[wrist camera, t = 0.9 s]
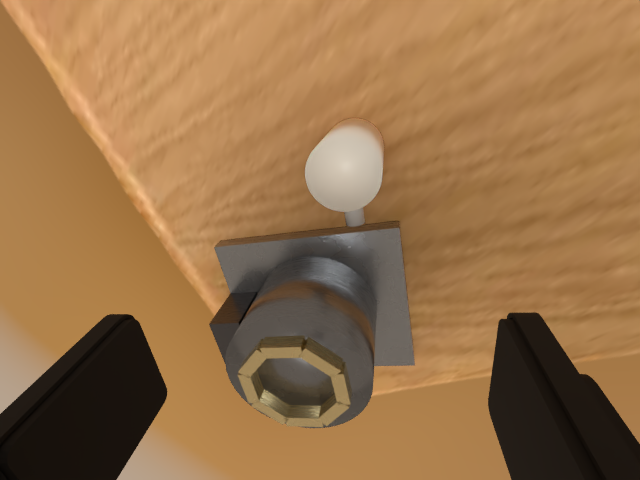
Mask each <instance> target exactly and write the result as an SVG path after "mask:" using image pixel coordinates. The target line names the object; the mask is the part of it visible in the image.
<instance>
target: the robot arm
mask: <svg viewBox="0 0 640 480" xmlns="http://www.w3.org/2000/svg"><path fill="white" fill-rule="evenodd" d="M166 397H167V388H166V385H165V383H164V381H163V378H162V376H161V373H160V372H159V369H158V366H157V364H156V361H155V359H154V357H153V354H152V352H151V349H150V347H149V345H148V342H147V340H146V338H145V336H144V333H143V330H142V328H141V326H140V323H139V322H138V321H137V320H135V319H134V317H133V316H132V315H128V314H117V315H116V314H111V315H107V316H106V317H104V318H103V319H102V320H101V321H100V322H99V323H98V324H96V325H95V326H94V327H93V328H92V329H91V330H90V331H89V332H88V333H87V334H86V335H85V336H84V337H82V338H81V339H80V340H79V341H78V342H77V343H76V344H75V345H74V346H73V347H72V348H71V349H70V350H69V351H68V352H66V353H65V355H63V356H62V357H61V358H60V359H59V360H58V361H57V362H56V363H55V364H54V365H52V366H51V367H50V368H49V369H48V370H47V371H46V372H45V373H44V374H43V375H42V376H41V377H40V378H39V379H38V380H36V381H35V382H34V383H33V384H32V385H31V386H30V387H29V388H28V389H27V390H26V391H25V392H23V393H22V394H21V395H20V396H19V397H18V398H17V399H16V400H15V401H14V402H13V403H12V404H11V405H10V406H8V407H7V409H5V410H4V411H3V412H2V413H1V414H0V480H116V479H117V478H118V476H119V475H120V473H121V471H122V470H123V468H124V467H125V465H126V463H127V462H128V460H129V459H130V457H131V455H132V454H133V452H134V450H135V449H136V447H137V446H138V444H139V442H140V441H141V439H142V438H143V436H144V434H145V433H146V431H147V430H148V428H149V426H150V425H151V423H152V422H153V420H154V418H155V417H156V415H157V414H158V412H159V410H160V409H161V407H162V405H163V404H164V402H165V400H166ZM488 406H489V412H490V416H491V419H492V422H493V425H494V428H495V431H496V434H497V437H498V440H499V443H500V446H501V449H502V452H503V455H504V458H505V461H506V464H507V467H508V470H509V473H510V476H511V479H512V480H640V444H639V443H638V441H637V440H636V438H635V437H634V436H633V434H632V433H631V431H630V430H629V428H628V427H627V426H626V424H625V423H624V421H623V420H622V418H621V417H620V416H619V414H618V413H617V411H616V410H615V408H614V407H613V406H612V404H611V403H610V401H609V400H608V398H607V397H606V396H605V394H604V393H603V391H602V390H601V389H600V387H599V386H598V384H597V383H596V382H595V381H594V380H593V379H592V378H591V377H590V376H588V375H585V374H579V373H578V371H577V370H576V368H575V367H574V365H573V364H572V362H571V361H570V359H569V358H568V356H567V355H566V353H565V352H564V350H563V349H562V347H561V346H560V344H559V343H558V341H557V340H556V338H555V337H554V335H553V334H552V332H551V331H550V329H549V328H548V326H547V325H546V323H545V322H544V320H543V319H542V317H541V316H540V315H539V314H538V313H509V314H508V316H507V319H501V320H500V321H499V325H498V332H497V339H496V347H495V354H494V362H493V369H492V376H491V384H490V392H489V398H488Z"/></svg>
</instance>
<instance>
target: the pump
mask: <svg viewBox="0 0 640 480" xmlns="http://www.w3.org/2000/svg"><path fill="white" fill-rule="evenodd" d="M383 159H384V141H383V138H382V135H381V133H380V132H379V130H378V129H377V128H376V127H375V126H374V125H373V124H372V123H370V122H369V121H367V120H364V119H360V118H349V119H345V120H343V121H341V122H339V123H338V124H336V125H335V126H334V127H333V128H332V129H331V130H330V131H329V132H328V134H327V135H326V136H325V137H324V138H323V139H322V140H321V141H320V143H319V144H318V145H317V146H316V147H315V148H314V150H313V151H312V152H311V154H310V155H309V157H308V160H307V163H306V167H305V179H306V183H307V186H308V189H309V191H310V193H311V194H312V196H313V197H314V198H315V199H316V200H317V201H318V202H319V203H320V204H321V205H323V206H325V207H326V208H329V209H331V210H334V211H339V212H344V214H345V219H346V225H347V226H350V227H355V226H360V225H362V224H364V223H365V218H364V211H363V207H364V206H366V205H367V204H368V203H370V202H371V201H372V200H373V199H374V197H375V196H376V195H377V193H378V191H379V189H380V186H381V183H382V174H383Z"/></svg>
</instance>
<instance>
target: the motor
mask: <svg viewBox="0 0 640 480" xmlns="http://www.w3.org/2000/svg"><path fill="white" fill-rule="evenodd" d="M214 248H215V251H216V254H217V257H218V259H219V262H220V265H221V268H222V271H223V273H224V276H225V279H226V282H227V284H228V287H229V290H230V293H231V294H230V295H229V297H228V298H227V299H226V301H225V302H224V304H223V305H222V307H221V308H220V309H219V311H218V312H217V314H216V315H215V317H214V318H213V320H212V321H211V323H210V324H209V325H210V327H211V330H212V332H213V335H214V337H215V340H216V342H217V345H218V347H219V349H220V352H221V354H222V357H223V359H224V362H225V364H226V370H227V373H228V376H229V379H230V381H231V383H232V385H233V386H234V388H235V389H236V391H237V392H238V393H239V394H240V396H241V397H242V398H243V399H244V400H245V401H246V402H247V403H248V404H250V405H251V406H252V407H254V408H255V409H256V410H258V411H259V412H261V413H263V414H265V415H266V416H268V417H270V418H272V419H274V420H276V421H277V422H279V423H281V424H282V425H283V424H284V423H286V425H287V426H298V427H305V428H325V427H331V426H336V425H339V424H342V423H345V422H347V421H349V420H351V419H353V418H354V417H356V416H357V415H358V414H360V413H361V412H362V411H363V410H364V408H365V407H366V406H367V404H368V402H369V400H370V398H371V395H372V390H373V376H374V366H403V365H415V361H414V351H413V342H412V333H411V324H410V315H409V306H408V298H407V289H406V280H405V271H404V262H403V253H402V244H401V235H400V227H399V221H393V222H384V223H375V224H366V225H360V226H355V227H350V226H348V227H339V228H330V229H321V230H312V231H303V232H294V233H285V234H276V235H267V236H258V237H249V238H240V239H231V240H222V241H220V242H219V243H218V244H217V245H216V246H215V247H214Z"/></svg>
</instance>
